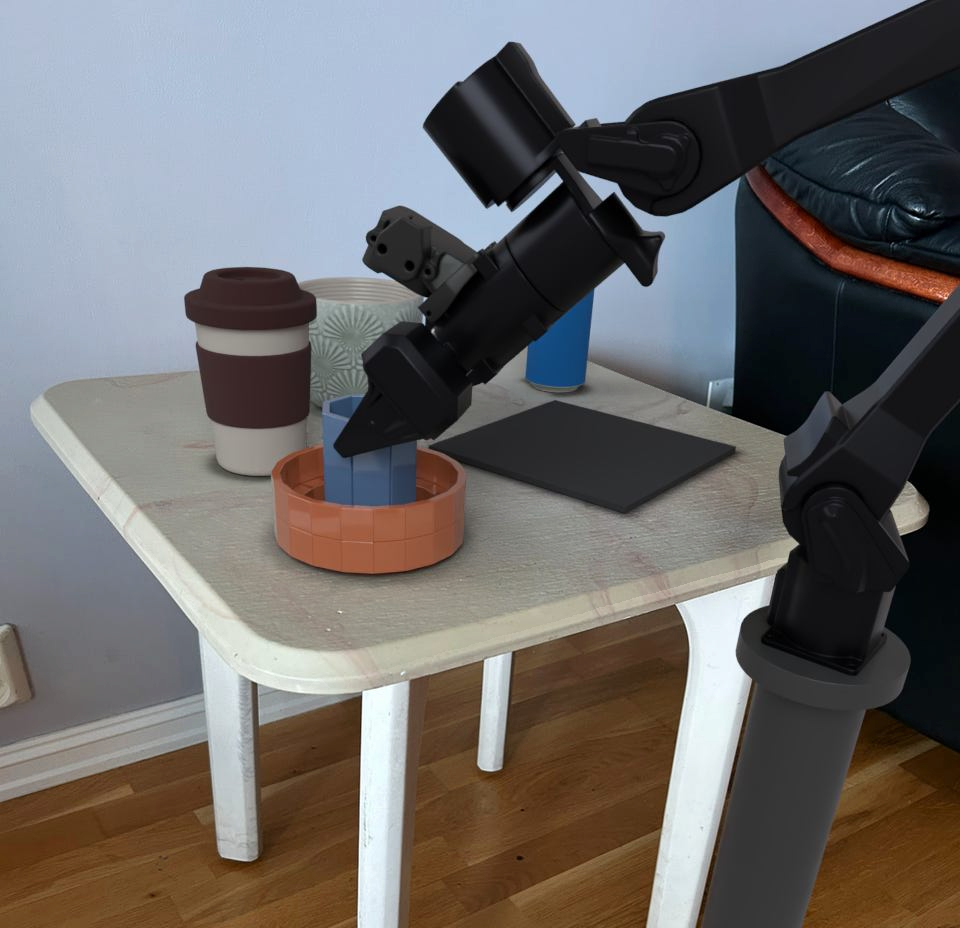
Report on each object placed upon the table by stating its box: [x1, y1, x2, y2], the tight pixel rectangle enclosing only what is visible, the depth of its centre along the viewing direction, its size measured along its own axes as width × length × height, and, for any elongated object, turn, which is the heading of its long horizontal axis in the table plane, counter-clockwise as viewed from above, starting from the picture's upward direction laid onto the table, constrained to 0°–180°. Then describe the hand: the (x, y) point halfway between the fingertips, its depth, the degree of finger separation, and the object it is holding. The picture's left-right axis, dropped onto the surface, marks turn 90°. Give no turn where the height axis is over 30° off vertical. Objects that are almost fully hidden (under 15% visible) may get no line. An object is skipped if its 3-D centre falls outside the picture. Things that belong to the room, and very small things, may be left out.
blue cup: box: [321, 394, 418, 506], centre depth 67 cm, size 6×6×9 cm
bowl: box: [270, 444, 467, 575], centre depth 69 cm, size 13×13×5 cm
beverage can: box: [524, 288, 596, 394], centre depth 104 cm, size 6×6×12 cm
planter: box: [297, 276, 425, 409], centre depth 95 cm, size 12×12×11 cm
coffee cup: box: [183, 266, 317, 477], centre depth 78 cm, size 10×10×15 cm
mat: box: [427, 399, 737, 514], centre depth 88 cm, size 20×20×1 cm
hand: (362, 430), depth 66 cm, fingers open, 9 cm apart
